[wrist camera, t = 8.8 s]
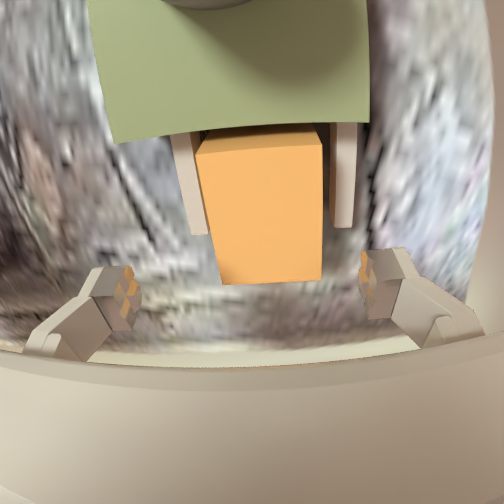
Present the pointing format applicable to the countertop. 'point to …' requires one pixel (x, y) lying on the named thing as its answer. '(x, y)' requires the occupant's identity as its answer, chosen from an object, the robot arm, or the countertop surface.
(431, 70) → the countertop surface
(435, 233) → the countertop surface
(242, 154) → the tall orange cuboid
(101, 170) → the countertop surface
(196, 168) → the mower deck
